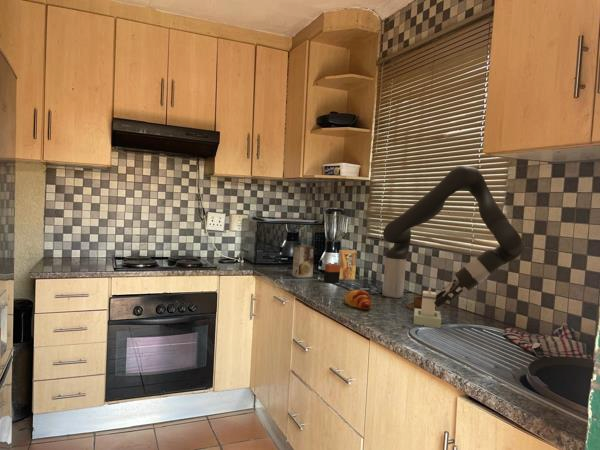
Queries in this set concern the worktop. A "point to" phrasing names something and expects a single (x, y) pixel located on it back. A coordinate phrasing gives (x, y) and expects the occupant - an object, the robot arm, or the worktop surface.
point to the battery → (332, 273)
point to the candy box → (347, 264)
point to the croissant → (358, 299)
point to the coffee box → (303, 261)
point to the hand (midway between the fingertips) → (435, 302)
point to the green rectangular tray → (427, 319)
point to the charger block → (428, 303)
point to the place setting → (418, 304)
